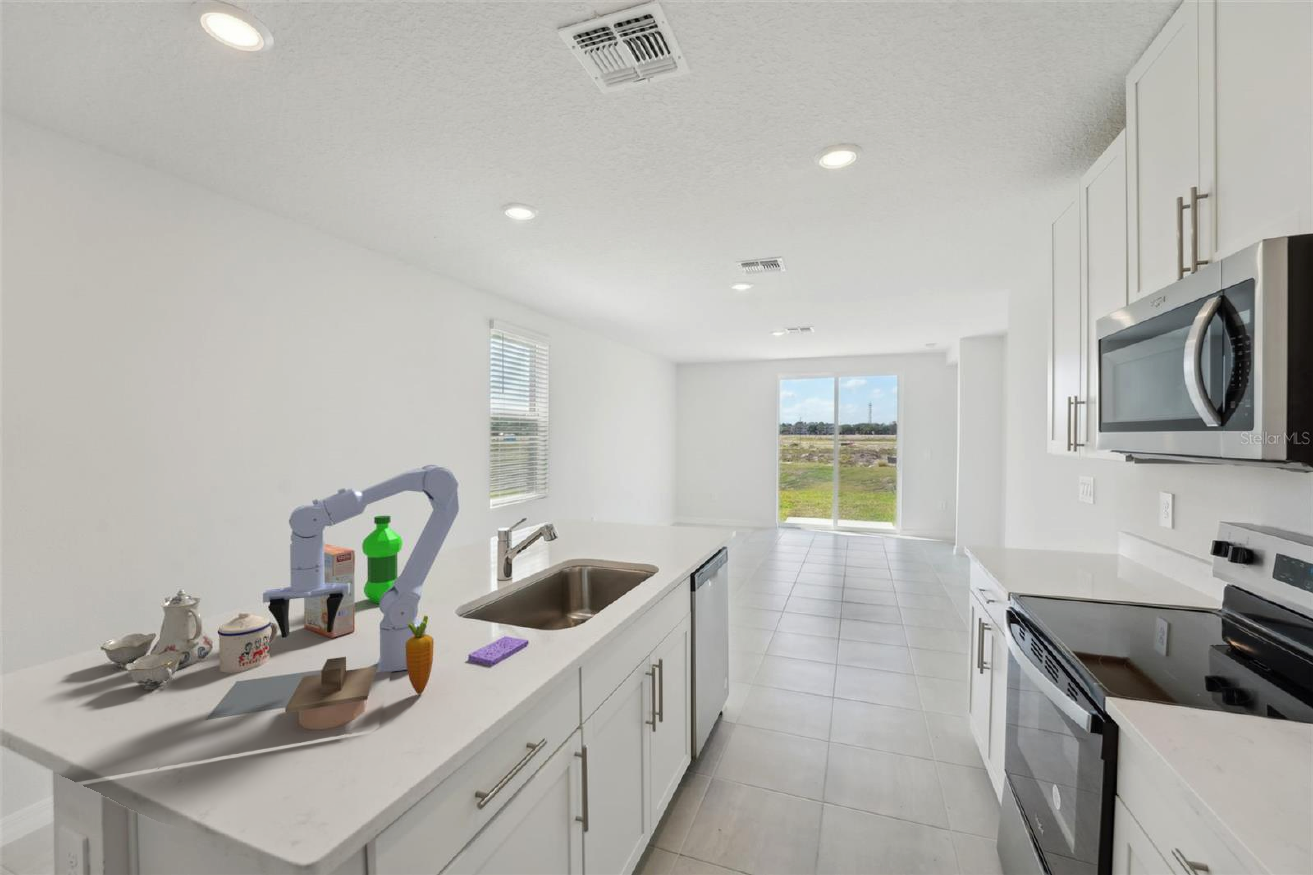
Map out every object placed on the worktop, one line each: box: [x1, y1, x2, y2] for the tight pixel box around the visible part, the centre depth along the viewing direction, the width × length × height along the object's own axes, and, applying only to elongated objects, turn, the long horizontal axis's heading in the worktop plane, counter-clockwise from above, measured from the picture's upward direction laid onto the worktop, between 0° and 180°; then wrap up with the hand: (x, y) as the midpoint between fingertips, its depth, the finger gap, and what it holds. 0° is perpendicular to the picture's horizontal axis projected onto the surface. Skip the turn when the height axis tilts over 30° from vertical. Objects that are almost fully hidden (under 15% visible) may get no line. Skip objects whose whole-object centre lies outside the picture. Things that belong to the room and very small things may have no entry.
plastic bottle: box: [361, 515, 403, 604], centre depth 160 cm, size 10×10×25 cm
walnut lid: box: [284, 656, 377, 714], centre depth 96 cm, size 12×12×5 cm
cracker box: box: [303, 543, 356, 639], centre depth 136 cm, size 14×6×21 cm, turn 58°
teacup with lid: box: [217, 610, 278, 674], centre depth 117 cm, size 12×9×12 cm
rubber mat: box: [205, 669, 322, 721], centre depth 104 cm, size 15×15×1 cm
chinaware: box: [100, 589, 214, 690], centre depth 114 cm, size 28×17×17 cm, turn 62°
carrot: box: [406, 615, 434, 695], centre depth 104 cm, size 5×5×15 cm
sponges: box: [467, 635, 530, 667], centre depth 124 cm, size 7×13×2 cm, turn 156°
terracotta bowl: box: [298, 700, 367, 730], centre depth 96 cm, size 10×10×4 cm
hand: (308, 633), depth 107 cm, fingers open, 7 cm apart
